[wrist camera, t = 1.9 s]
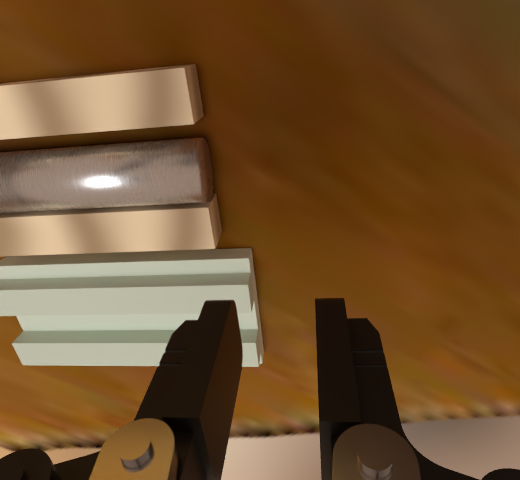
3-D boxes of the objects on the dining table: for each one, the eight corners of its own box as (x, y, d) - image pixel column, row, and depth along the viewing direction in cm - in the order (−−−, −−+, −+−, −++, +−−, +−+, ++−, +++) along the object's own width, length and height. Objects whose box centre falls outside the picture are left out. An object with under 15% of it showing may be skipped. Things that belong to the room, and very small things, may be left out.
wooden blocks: (195, 63, 23) (184, 67, 21) (222, 231, 29) (215, 248, 26) (-44, 87, 26) (-76, 93, 23) (21, 240, 31) (-1, 256, 29)
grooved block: (251, 247, 29) (245, 269, 26) (263, 350, 34) (260, 377, 31) (5, 256, 32) (-22, 277, 29) (48, 350, 36) (28, 375, 34)
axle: (204, 126, 25) (191, 157, 22) (216, 180, 27) (206, 215, 24) (-22, 144, 27) (-63, 174, 24) (8, 192, 30) (-25, 226, 27)
